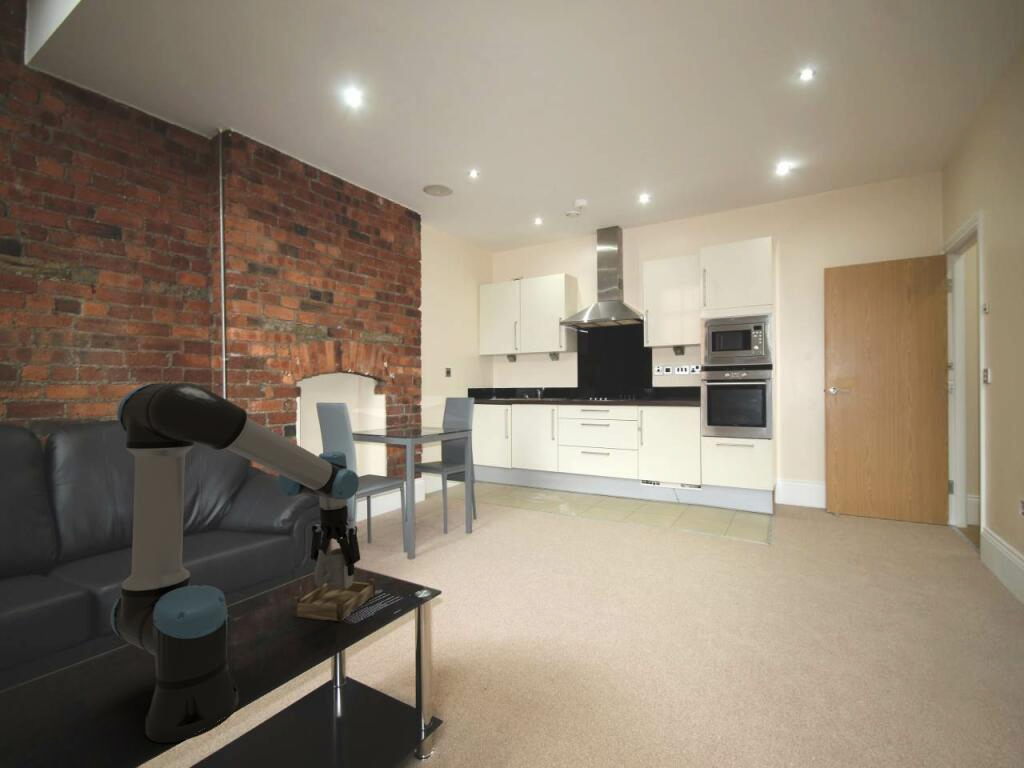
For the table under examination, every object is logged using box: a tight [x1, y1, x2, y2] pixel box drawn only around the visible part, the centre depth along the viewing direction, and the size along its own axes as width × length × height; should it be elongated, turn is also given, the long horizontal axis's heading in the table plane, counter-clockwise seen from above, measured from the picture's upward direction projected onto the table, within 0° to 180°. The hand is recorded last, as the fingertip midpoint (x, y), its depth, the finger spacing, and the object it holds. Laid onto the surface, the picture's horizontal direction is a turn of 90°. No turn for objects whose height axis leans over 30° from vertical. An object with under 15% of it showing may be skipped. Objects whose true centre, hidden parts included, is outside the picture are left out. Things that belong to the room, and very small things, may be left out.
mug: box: [313, 547, 355, 590], centre depth 142 cm, size 8×12×12 cm, turn 142°
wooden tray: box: [292, 578, 376, 621], centre depth 142 cm, size 17×15×5 cm
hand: (336, 584), depth 142 cm, fingers closed on mug, 8 cm apart
